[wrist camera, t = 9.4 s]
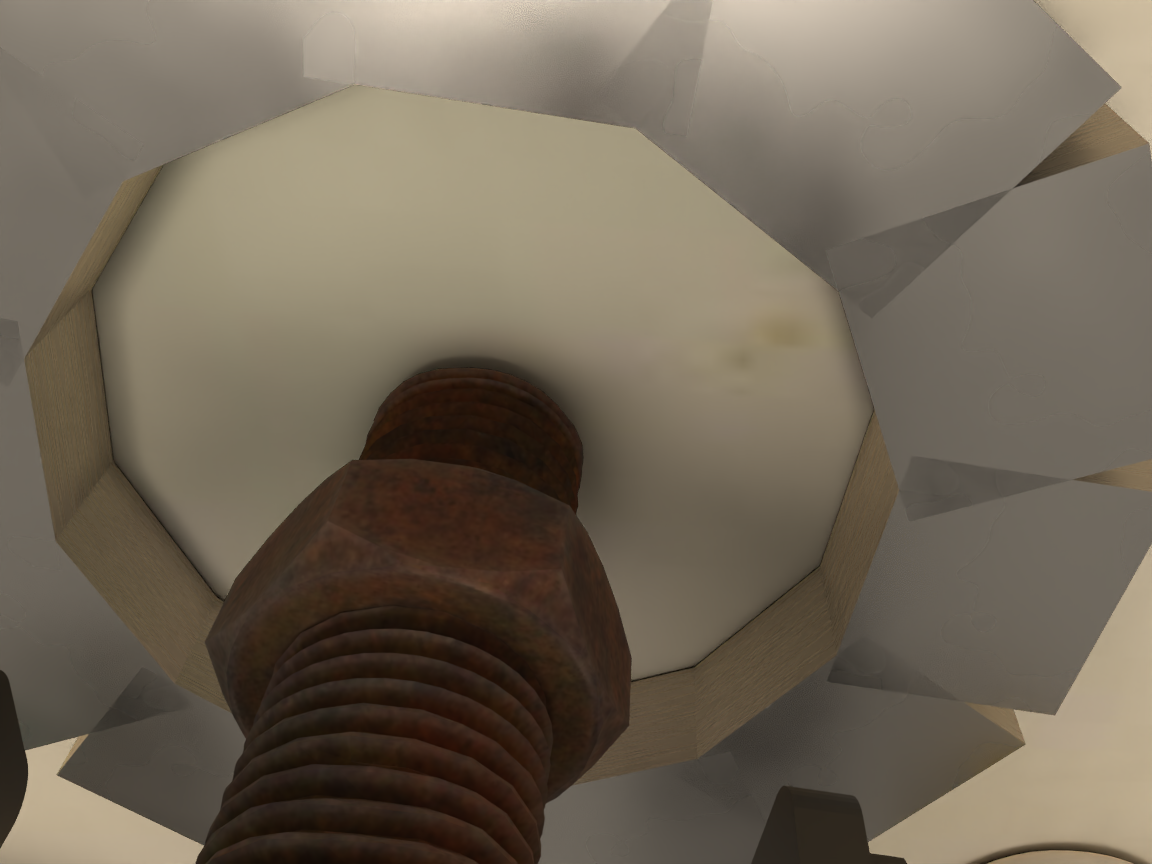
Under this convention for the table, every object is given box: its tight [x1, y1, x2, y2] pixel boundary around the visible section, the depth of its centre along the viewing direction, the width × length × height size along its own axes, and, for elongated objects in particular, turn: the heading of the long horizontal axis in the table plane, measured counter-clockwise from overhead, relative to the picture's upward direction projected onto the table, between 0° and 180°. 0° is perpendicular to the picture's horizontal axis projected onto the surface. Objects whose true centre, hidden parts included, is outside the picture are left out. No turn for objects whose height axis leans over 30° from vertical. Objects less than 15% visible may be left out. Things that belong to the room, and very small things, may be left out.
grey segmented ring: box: [0, 0, 1152, 864], centre depth 16 cm, size 18×18×2 cm
